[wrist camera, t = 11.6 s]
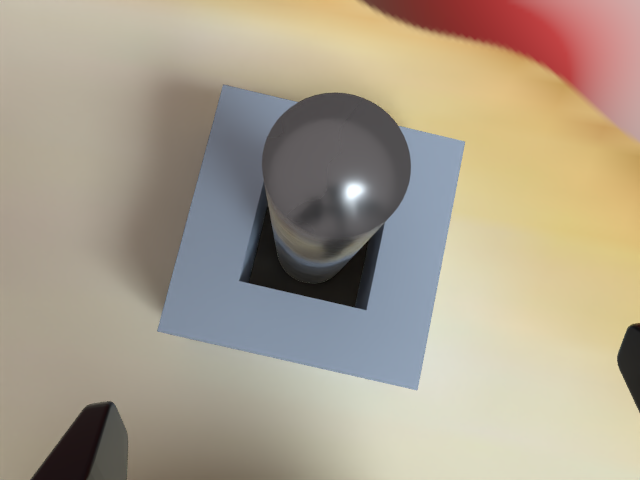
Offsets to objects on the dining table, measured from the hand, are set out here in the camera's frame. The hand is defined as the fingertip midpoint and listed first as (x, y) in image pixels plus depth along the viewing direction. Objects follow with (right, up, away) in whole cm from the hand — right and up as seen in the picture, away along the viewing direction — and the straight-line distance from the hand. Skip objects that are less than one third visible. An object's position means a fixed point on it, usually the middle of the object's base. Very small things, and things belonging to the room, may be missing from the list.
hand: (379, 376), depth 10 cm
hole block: (-1, +2, +14) cm, 14 cm away
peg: (-1, +2, +14) cm, 14 cm away
